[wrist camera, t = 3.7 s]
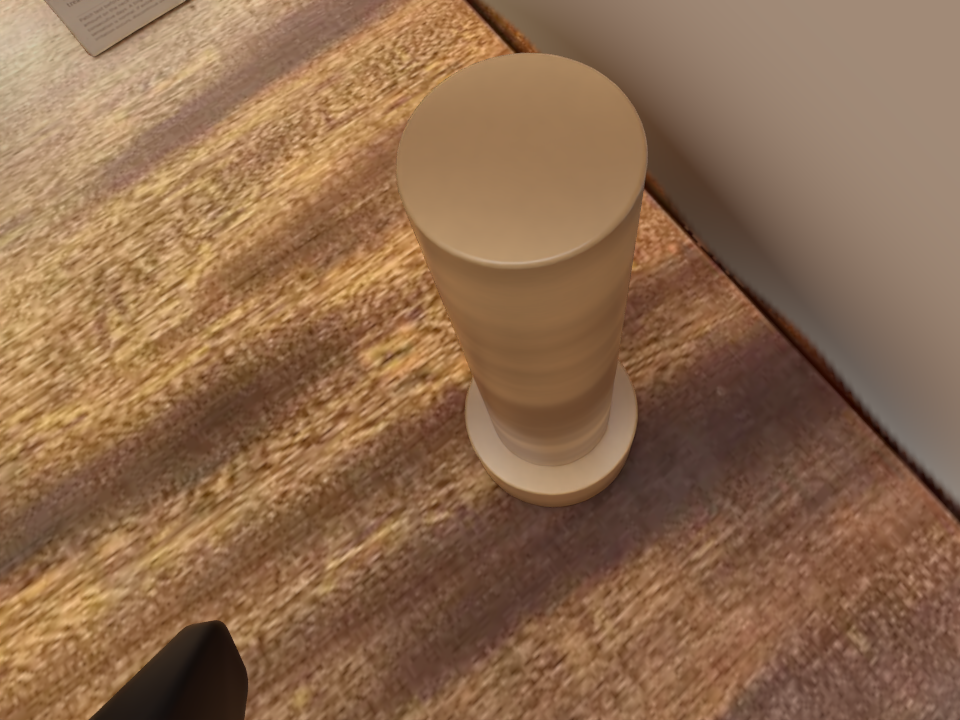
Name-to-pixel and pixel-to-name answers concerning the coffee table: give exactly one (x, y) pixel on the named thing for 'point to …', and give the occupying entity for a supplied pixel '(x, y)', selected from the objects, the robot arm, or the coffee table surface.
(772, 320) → the coffee table surface
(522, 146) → the muddler
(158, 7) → the small box
